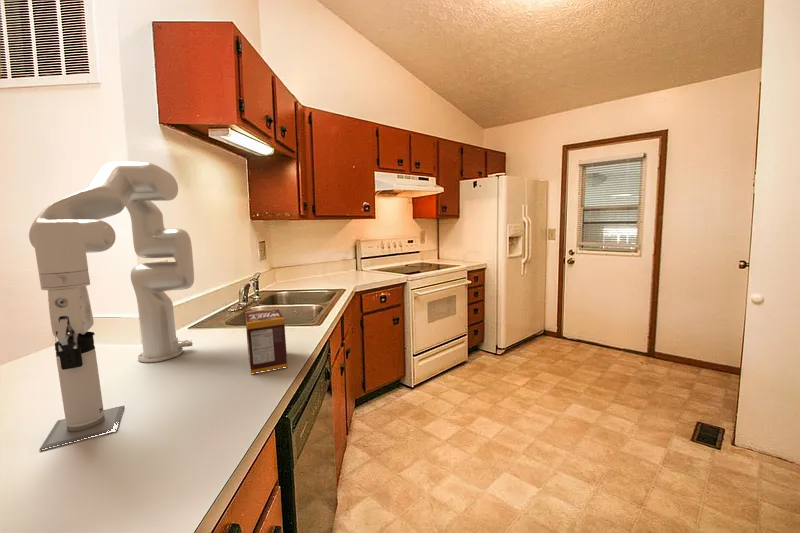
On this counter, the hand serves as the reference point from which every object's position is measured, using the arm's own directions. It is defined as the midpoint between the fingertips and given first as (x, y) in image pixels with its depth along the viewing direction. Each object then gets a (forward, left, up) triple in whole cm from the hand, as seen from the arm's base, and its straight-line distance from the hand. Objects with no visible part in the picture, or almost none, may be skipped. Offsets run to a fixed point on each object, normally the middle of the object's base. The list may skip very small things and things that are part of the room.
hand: (77, 360), depth 76 cm
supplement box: (-41, -15, -16) cm, 46 cm away
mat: (0, 0, -15) cm, 15 cm away
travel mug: (0, 0, -15) cm, 15 cm away
